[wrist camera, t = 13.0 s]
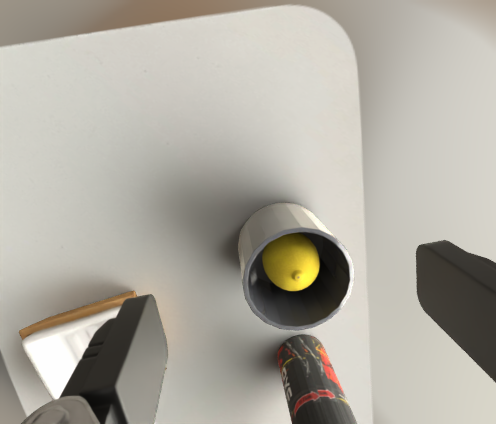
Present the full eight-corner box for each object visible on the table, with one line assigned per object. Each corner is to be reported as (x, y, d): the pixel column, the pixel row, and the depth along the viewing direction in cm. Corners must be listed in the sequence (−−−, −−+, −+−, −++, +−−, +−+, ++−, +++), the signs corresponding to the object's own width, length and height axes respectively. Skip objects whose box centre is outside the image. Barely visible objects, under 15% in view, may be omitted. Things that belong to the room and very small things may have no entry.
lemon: (298, 213, 37) (317, 238, 30) (314, 257, 39) (337, 291, 31) (250, 232, 38) (258, 263, 30) (269, 275, 39) (280, 314, 31)
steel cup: (231, 210, 37) (234, 238, 29) (320, 195, 38) (349, 218, 29) (245, 290, 40) (252, 338, 31) (328, 276, 40) (357, 319, 32)
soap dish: (140, 278, 39) (129, 301, 34) (172, 348, 41) (165, 379, 37) (35, 311, 39) (9, 339, 34) (73, 380, 42) (54, 415, 37)
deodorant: (274, 339, 42) (301, 455, 28) (322, 330, 42) (373, 441, 28) (280, 379, 44) (309, 508, 29) (326, 370, 44) (377, 495, 30)
